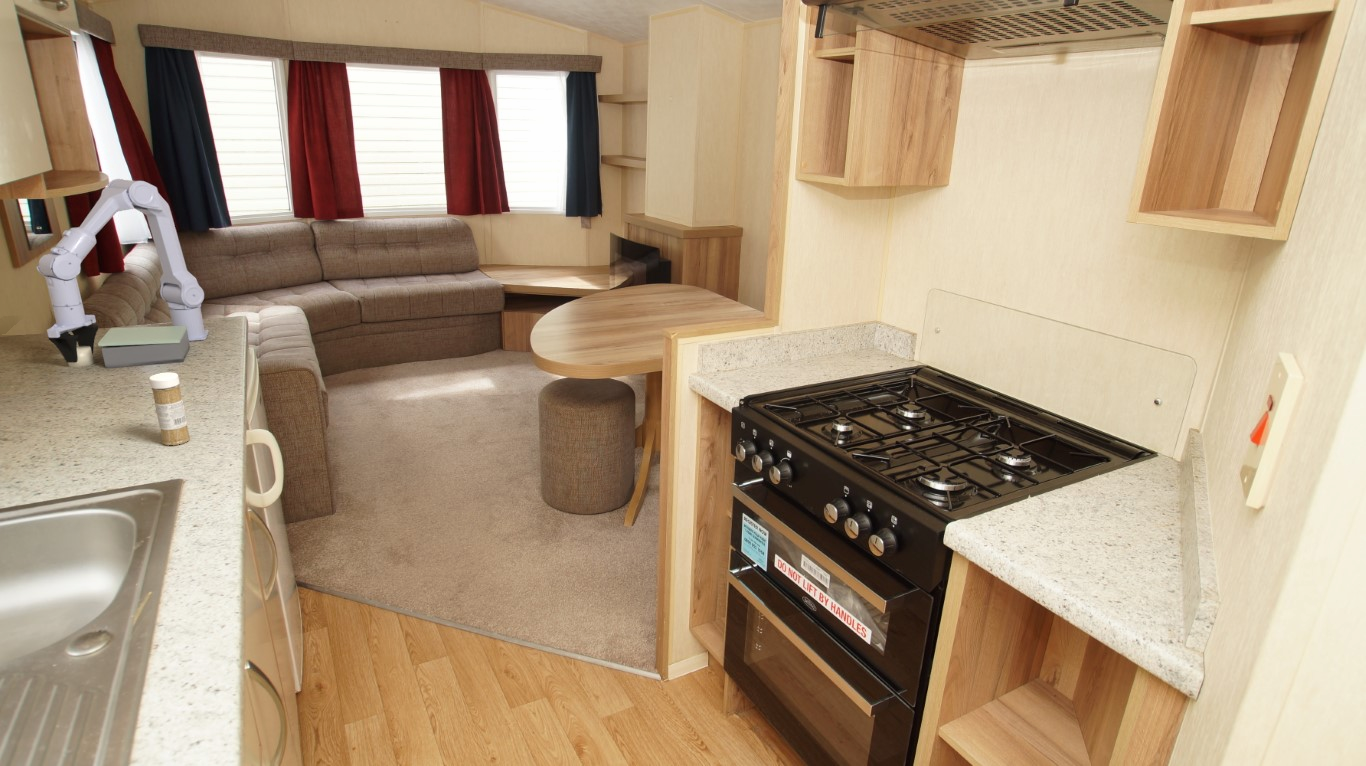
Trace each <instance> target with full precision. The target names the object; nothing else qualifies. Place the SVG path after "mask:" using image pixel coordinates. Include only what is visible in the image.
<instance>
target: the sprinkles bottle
mask: <svg viewBox="0 0 1366 766" xmlns="http://www.w3.org/2000/svg"><path fill="white" fill-rule="evenodd" d="M148 381H149V386H150V389H151V391H152V395H153V399H154V406H155V411H156V416H157V421H158V427H159V429H160V433H161V438H162V441H161V442H162V444H163V445H165V446H169V445H173V446H179V444H180V445H184V444H185V443H187V441H188V442H189V441H190V440H191V436H190V434H189V429H188V422H187V417H186V411H185V406H184V401H183V398H182V394H181V393H182V392H181V388H180V377H179V374H178V373H176V372H170V371H169V372H167V371H166V372H161V373H156V374H153V375H151V376H149V378H148ZM183 443H184V444H183Z"/></svg>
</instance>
